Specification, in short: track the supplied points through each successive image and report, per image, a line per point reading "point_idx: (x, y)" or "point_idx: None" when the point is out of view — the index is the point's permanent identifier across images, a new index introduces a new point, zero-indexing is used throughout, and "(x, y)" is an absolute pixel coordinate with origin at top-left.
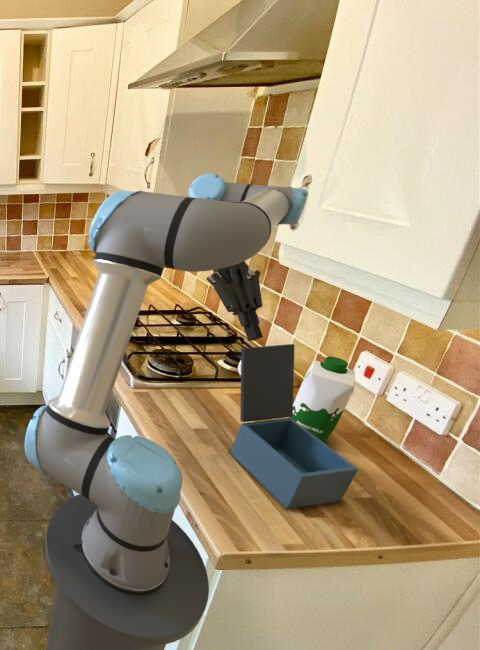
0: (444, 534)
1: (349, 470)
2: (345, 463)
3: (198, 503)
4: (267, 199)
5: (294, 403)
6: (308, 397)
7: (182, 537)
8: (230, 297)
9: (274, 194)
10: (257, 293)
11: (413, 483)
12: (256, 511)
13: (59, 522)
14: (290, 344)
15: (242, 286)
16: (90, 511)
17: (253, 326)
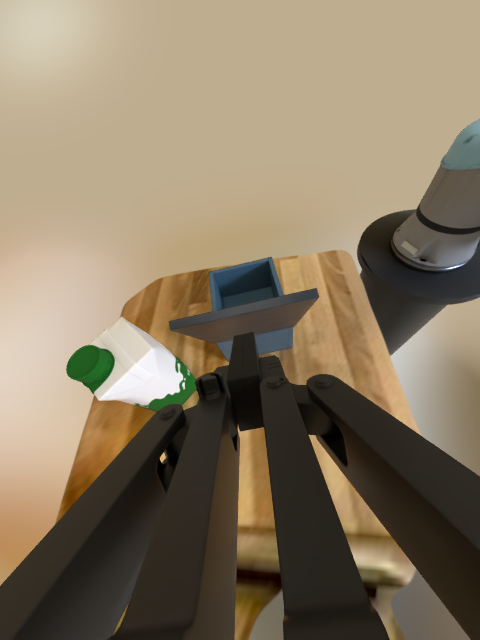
0: (171, 279)
1: (219, 269)
2: (213, 278)
3: (355, 282)
4: None
5: (176, 386)
6: (169, 359)
7: (372, 264)
8: (379, 419)
9: None
10: (116, 484)
11: (139, 321)
12: (302, 280)
13: None
14: (175, 324)
15: (206, 598)
16: (465, 276)
17: (253, 345)
